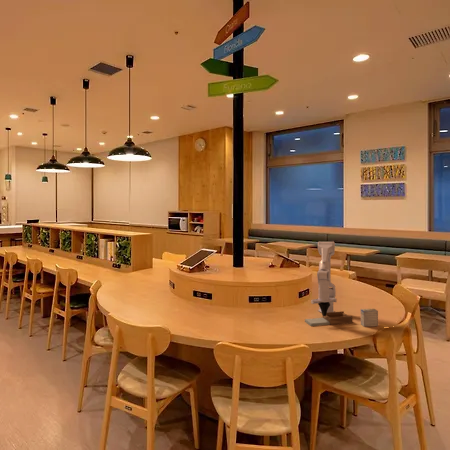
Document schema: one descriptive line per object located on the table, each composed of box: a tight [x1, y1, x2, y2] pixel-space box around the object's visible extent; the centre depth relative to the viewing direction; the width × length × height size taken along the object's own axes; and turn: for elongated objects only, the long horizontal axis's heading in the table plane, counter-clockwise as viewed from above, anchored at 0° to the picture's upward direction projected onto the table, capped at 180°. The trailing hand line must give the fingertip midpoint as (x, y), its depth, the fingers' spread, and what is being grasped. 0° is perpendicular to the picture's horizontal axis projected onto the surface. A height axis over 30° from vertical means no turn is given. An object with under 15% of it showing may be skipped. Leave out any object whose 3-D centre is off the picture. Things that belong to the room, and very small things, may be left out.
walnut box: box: [322, 310, 353, 326], centre depth 203 cm, size 10×13×4 cm
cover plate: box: [304, 317, 331, 327], centre depth 201 cm, size 8×11×2 cm
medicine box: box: [360, 308, 379, 328], centre depth 195 cm, size 8×4×9 cm, turn 92°
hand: (324, 315), depth 201 cm, fingers closed
